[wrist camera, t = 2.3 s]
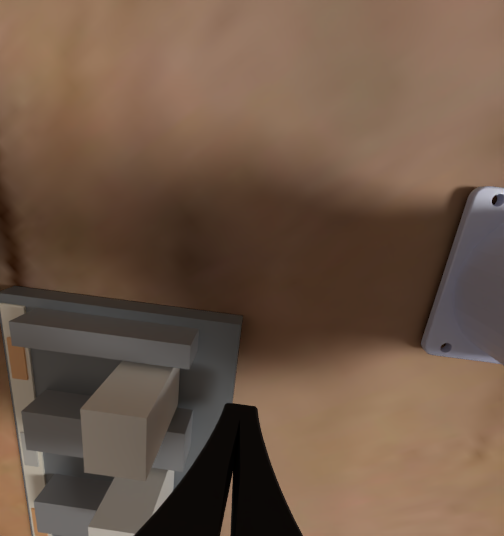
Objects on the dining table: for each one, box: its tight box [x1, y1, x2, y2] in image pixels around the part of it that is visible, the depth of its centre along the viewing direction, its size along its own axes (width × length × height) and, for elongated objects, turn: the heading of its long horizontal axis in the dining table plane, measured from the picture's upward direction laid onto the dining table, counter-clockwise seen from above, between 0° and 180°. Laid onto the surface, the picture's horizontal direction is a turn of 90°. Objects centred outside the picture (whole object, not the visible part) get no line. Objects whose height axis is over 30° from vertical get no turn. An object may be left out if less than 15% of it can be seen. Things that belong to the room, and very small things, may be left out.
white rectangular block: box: [88, 468, 174, 536], centre depth 13 cm, size 2×3×4 cm
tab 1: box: [80, 361, 180, 481], centre depth 12 cm, size 2×3×4 cm
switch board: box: [0, 286, 243, 536], centre depth 15 cm, size 12×19×2 cm, turn 173°
